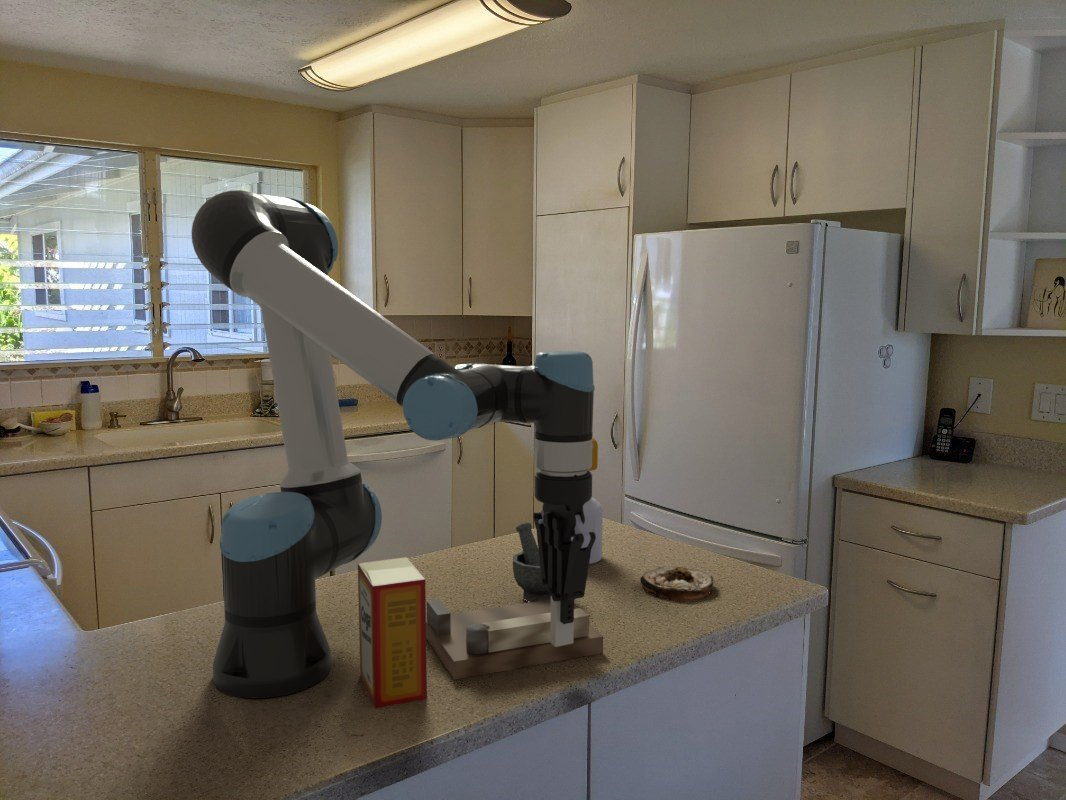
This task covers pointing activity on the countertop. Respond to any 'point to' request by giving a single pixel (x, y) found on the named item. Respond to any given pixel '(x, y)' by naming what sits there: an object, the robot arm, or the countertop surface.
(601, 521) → the soap bottle
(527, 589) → the mortar and pestle
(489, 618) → the stool seat
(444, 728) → the countertop surface
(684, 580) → the sushi roll
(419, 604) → the baking soda box
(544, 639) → the hinged leg
